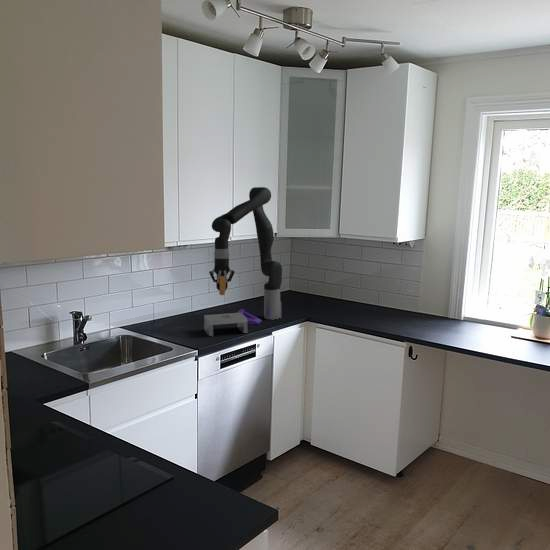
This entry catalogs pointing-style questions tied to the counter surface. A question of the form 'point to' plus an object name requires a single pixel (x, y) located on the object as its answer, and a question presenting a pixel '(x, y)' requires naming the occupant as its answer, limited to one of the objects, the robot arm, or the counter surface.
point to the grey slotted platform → (225, 321)
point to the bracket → (250, 317)
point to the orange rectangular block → (222, 285)
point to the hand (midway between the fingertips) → (221, 289)
